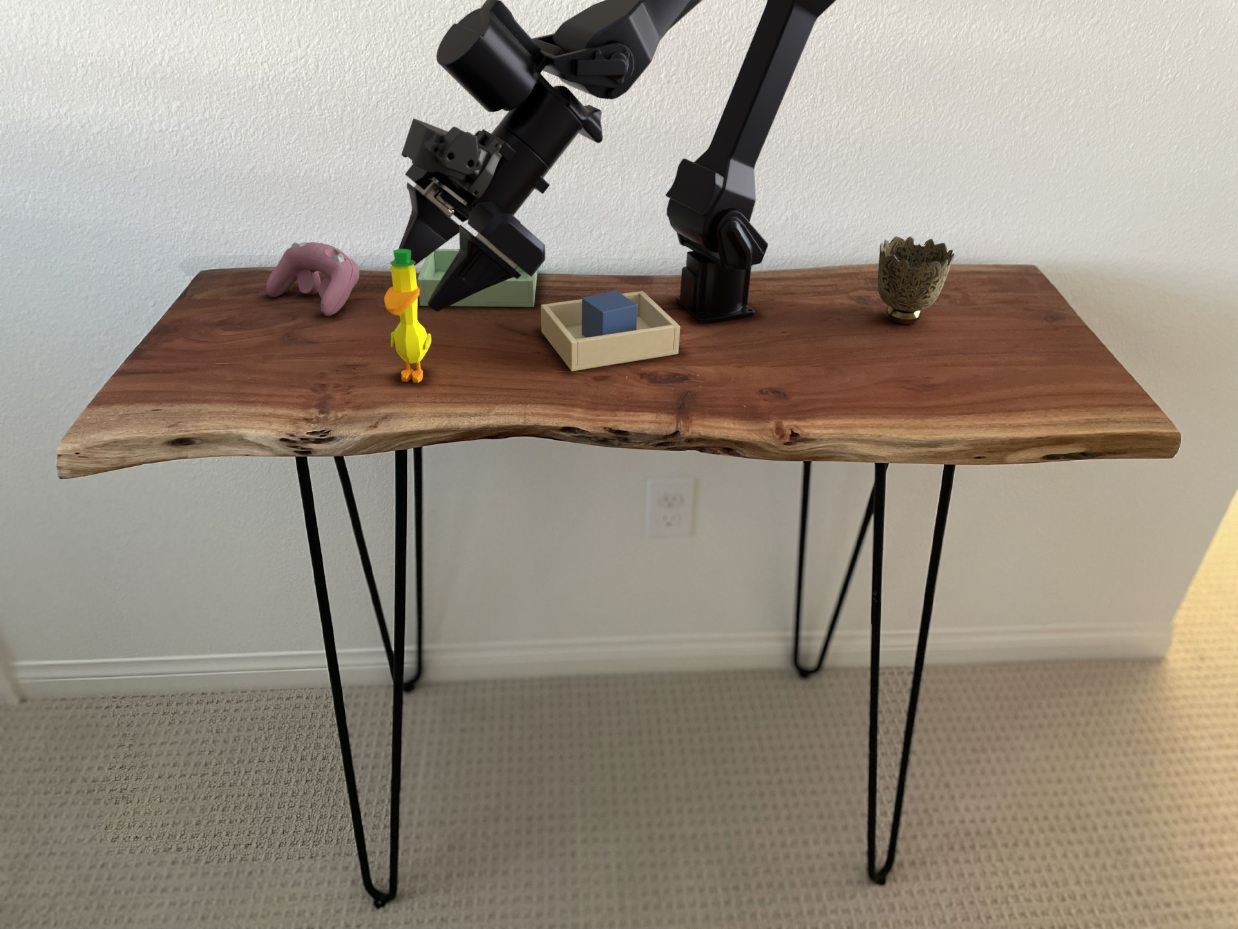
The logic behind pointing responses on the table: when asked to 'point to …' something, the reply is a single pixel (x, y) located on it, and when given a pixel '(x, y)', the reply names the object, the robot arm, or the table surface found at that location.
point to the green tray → (494, 296)
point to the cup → (911, 276)
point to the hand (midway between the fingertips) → (413, 289)
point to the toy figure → (406, 315)
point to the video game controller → (315, 274)
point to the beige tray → (609, 335)
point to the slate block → (608, 314)
